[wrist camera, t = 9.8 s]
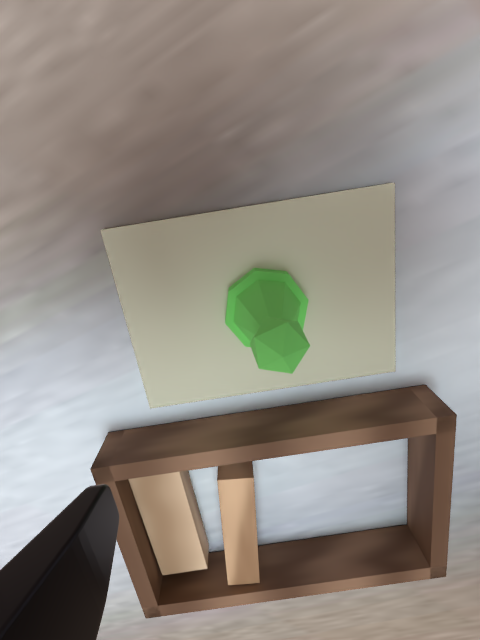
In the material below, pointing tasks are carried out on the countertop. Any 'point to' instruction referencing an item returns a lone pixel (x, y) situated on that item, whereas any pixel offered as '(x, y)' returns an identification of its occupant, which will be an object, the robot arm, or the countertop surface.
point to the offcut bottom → (172, 521)
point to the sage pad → (237, 260)
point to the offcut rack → (283, 440)
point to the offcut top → (239, 522)
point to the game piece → (269, 318)
